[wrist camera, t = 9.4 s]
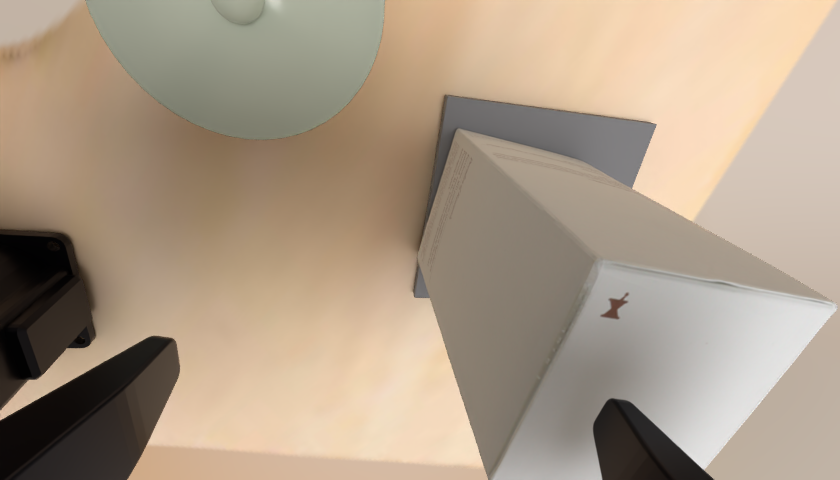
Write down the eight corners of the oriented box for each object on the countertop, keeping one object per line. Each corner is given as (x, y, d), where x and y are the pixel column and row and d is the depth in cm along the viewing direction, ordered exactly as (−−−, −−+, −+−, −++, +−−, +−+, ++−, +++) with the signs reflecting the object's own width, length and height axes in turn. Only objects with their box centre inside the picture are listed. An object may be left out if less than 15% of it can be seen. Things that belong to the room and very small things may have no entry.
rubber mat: (413, 292, 24) (414, 297, 23) (445, 94, 19) (447, 96, 18) (583, 298, 26) (587, 302, 25) (650, 122, 21) (656, 124, 21)
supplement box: (412, 258, 22) (477, 491, 11) (455, 123, 19) (604, 251, 8) (532, 280, 24) (691, 496, 13) (588, 160, 21) (858, 305, 10)
